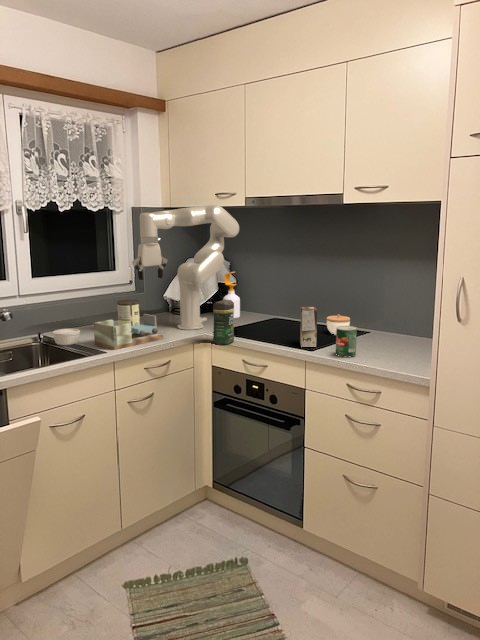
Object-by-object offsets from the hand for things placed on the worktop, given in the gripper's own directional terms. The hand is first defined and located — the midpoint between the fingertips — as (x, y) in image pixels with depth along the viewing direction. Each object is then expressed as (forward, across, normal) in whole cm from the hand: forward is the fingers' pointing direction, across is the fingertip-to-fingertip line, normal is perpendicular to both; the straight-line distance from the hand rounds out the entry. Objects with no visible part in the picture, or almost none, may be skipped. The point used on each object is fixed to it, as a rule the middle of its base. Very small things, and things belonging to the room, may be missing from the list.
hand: (150, 278), depth 243 cm
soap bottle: (+26, -53, -12) cm, 61 cm away
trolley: (+23, +8, +6) cm, 25 cm away
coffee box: (+26, -43, +59) cm, 77 cm away
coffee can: (+26, +5, -14) cm, 30 cm away
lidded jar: (+26, -69, +51) cm, 90 cm away
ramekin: (+26, +38, -7) cm, 46 cm away
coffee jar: (+26, -17, +33) cm, 46 cm away
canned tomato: (+26, -44, +79) cm, 94 cm away
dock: (+26, +15, +7) cm, 31 cm away
